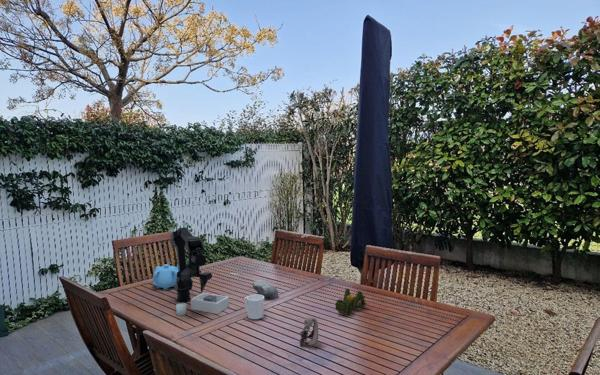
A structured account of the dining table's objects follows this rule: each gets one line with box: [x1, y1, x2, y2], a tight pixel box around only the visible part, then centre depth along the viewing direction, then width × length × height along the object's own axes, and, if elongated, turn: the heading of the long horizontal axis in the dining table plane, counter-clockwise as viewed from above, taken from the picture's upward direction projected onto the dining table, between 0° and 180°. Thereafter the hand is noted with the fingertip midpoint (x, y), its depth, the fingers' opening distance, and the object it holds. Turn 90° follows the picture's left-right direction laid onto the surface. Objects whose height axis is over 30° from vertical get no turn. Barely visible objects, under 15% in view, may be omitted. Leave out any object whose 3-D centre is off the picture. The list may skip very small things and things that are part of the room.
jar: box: [175, 302, 187, 317], centre depth 199 cm, size 5×5×5 cm
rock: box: [251, 279, 279, 300], centre depth 225 cm, size 11×17×10 cm, turn 51°
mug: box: [243, 293, 265, 321], centre depth 194 cm, size 11×9×10 cm
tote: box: [190, 292, 230, 315], centre depth 207 cm, size 17×11×6 cm, turn 67°
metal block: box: [203, 295, 216, 303], centre depth 207 cm, size 5×5×5 cm
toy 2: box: [335, 288, 366, 316], centre depth 204 cm, size 10×24×10 cm, turn 143°
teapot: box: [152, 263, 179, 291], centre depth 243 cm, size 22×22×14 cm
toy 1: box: [299, 314, 319, 348], centre depth 164 cm, size 8×8×14 cm
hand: (194, 290), depth 202 cm, fingers open, 9 cm apart
